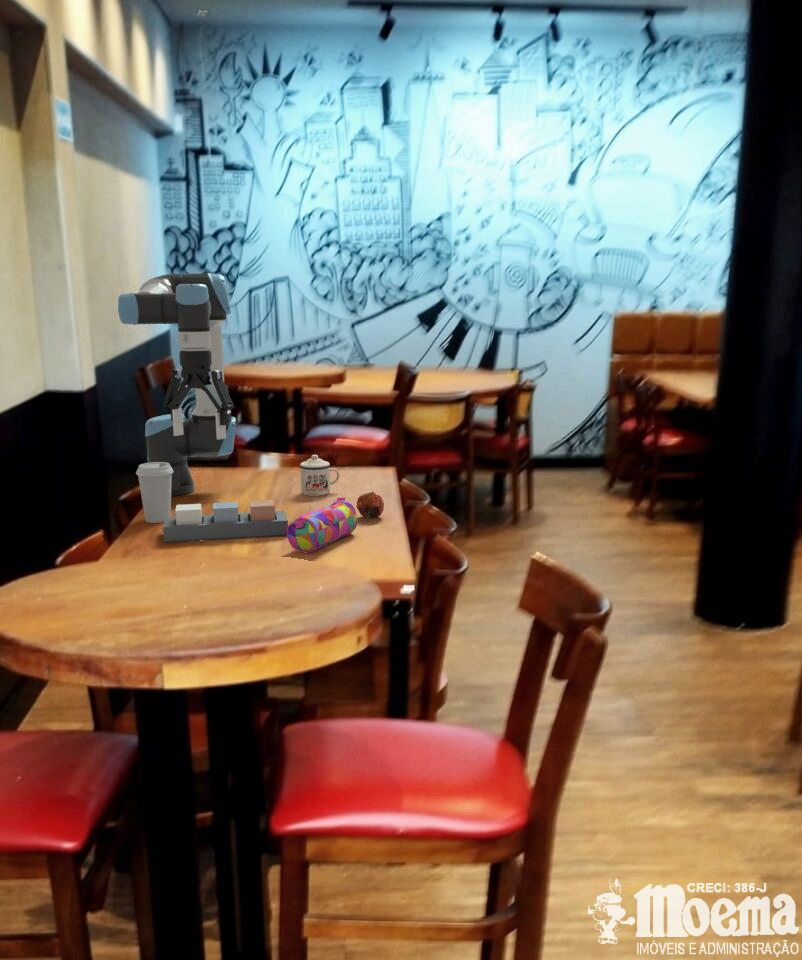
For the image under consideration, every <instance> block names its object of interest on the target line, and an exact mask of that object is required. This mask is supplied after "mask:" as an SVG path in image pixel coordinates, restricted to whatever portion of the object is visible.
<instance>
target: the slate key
mask: <svg viewBox="0 0 802 960" xmlns="http://www.w3.org/2000/svg"><path fill="white" fill-rule="evenodd" d="M212 504H213V505H212V509H213V510H212V512H213V514H212V515H213V516H214V523H225V522H239V520H238V513H239V504H238V501H227V502H213V503H212Z"/></svg>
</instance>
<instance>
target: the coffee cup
mask: <svg viewBox="0 0 802 960" xmlns="http://www.w3.org/2000/svg"><path fill="white" fill-rule="evenodd" d="M172 473H173V469H172V467H171V466H170V464H169V463H165V462H151V463H148V462H144V463H141V464H139V465H138V468H137V470H136V472H135V475H137V476H138V484H139V488H140V489H139V490H140V496H141V502H142V507H143V513H144V514H143V515H144V520H145V522H146V523H148V522H149V524H160V523H164V522H165V517H172V516H171V514H172V509H171V508H172V496H171V481H172Z"/></svg>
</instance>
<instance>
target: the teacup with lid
mask: <svg viewBox="0 0 802 960" xmlns="http://www.w3.org/2000/svg"><path fill="white" fill-rule="evenodd" d="M310 457H311V458H308V459H307V460H305V461H302V462H301V463H300V464H299V468H300V490H301V491H300V492H301V494H302V495H303V494H304V495H303V496H306V495H308V497H318V496H317V495H323V496H326V495H325V494H327V495H328V493H329V494H330V492H331V489H330V488H331V486H333V485H335V484H337V483H338V482H339V480H340V478H341V477H340V476H341V475H340V471H339V470H338V469H337V468H335V467H333V468H330V467H331V464H330V462H329V461H326V460H323V459H322V458H319V456H318V455H317V454H312V455H311V456H310ZM331 472H336V478H335V479H334V481H332V482H331V479H330V478H331V477H330V474H331Z"/></svg>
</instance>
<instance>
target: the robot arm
mask: <svg viewBox="0 0 802 960" xmlns="http://www.w3.org/2000/svg"><path fill="white" fill-rule="evenodd" d="M230 302H231V301H230V297H229V290H228V285H227V281H226V278H225V276H224V275H222V274H218V273H210V272H207V273H167V274H166V273H165V274H162V275H159V276H155V277H152V278H151V279H149V280H147V281H145V282H143V284H142V285H141V286H140V288H139V290H138V292H137V293H134V292H133V293H132V292H128V293H121V294H120V295H119V296H118V300H117V309H118V312H117V313H118V316H119V317H118V318H119V321H120V322H121V324H123V325H133V326H137V325H177V332H178V335H177V336H178V337H177V338H178V348H179V349H181V350H180V351H179V352H178V354H179V355H178V356H179V365H180V366H181V368H172V369H171V373H170V374H171V378H170V380H169V384H168V388H167V390H166V394H165V395H164V396H165V397H164V399H163V402H162V404H163V405H162V406H164V407H167V408H168V409H169V411H170V414H163V415H159V416H155V417H151V418H149V419H147V421H146V422H145V425H144V426H145V434H144V437H145V444H146V460H147V463H151V462H165V463H169V464H170V466H171V467H172V469H173V473H172V481H171V497H176V496H177V497H178V496H183V495H186V494H190V493H192V492H194V491H195V482H194V478H193V476H192V473H191V471H190V468H189V466H188V458H189V457H190V458H195V457H219V456H229V455H231V454H232V453H233V452H234V445H235V434H236V424H237V423H236V422H237V418H236V417H234V416H232V411H231V410H233V409H235V405H234V403H233V400H232V398H231V396H230V393H229V391H228V388H227V386H226V384H225V371H224V369H225V368H224V351H223V349H224V348H223V347H224V346H223V332H222V330H223V329H222V327H223V325H224V323H226V322H227V316H228V315H230V314H232V310H231V303H230ZM182 379H183V380H182ZM191 389H195V390H194V391H195V404H196V407H195V408H194V409H193V411H192V412H191V418H186V416H185V414H184V413H183V408H182V407H181V405H182V403H183V402H184V400H185V399H186V397H187V395H188V394H189V392H190V390H191Z"/></svg>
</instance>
